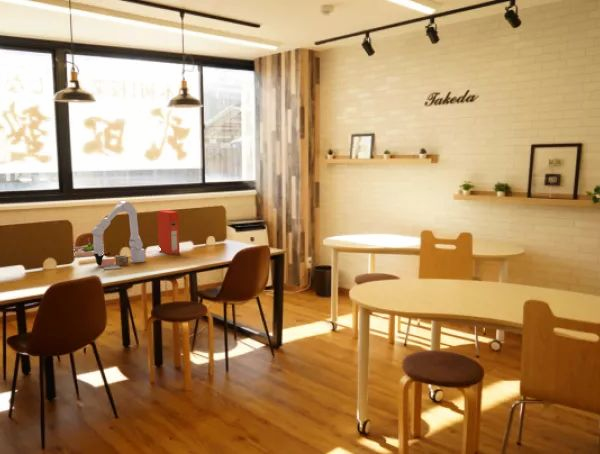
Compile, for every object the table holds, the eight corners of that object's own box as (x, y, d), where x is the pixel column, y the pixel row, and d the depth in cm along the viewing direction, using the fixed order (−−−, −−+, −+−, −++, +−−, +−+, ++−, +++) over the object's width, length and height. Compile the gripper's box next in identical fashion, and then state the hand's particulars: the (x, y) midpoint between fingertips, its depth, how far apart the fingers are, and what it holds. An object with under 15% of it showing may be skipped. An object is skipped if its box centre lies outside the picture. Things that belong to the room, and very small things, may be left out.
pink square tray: (104, 248, 427) (104, 244, 427) (110, 254, 405) (109, 250, 405) (70, 251, 415) (70, 247, 415) (74, 257, 394) (74, 253, 393)
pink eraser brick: (113, 264, 370) (112, 257, 369) (114, 265, 367) (113, 258, 366) (97, 266, 365) (97, 258, 364) (98, 267, 362) (98, 259, 361)
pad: (118, 265, 366) (118, 265, 366) (121, 268, 358) (121, 267, 358) (102, 267, 362) (102, 266, 362) (105, 270, 353) (105, 269, 353)
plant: (101, 249, 424) (100, 235, 422) (106, 254, 407) (106, 239, 406) (74, 252, 413) (73, 237, 412) (78, 256, 397) (77, 241, 395)
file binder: (170, 254, 405) (169, 212, 400) (158, 251, 417) (157, 210, 413) (179, 253, 411) (178, 212, 406) (167, 250, 423) (166, 209, 418)
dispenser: (126, 263, 375) (126, 254, 374) (128, 264, 370) (128, 255, 369) (115, 264, 372) (115, 255, 371) (117, 265, 366) (117, 256, 366)
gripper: (90, 243, 366) (91, 262, 368) (93, 246, 353) (94, 267, 355) (101, 242, 369) (102, 262, 371) (104, 246, 357) (105, 266, 359)
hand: (99, 264), depth 364 cm, fingers closed on pink eraser brick, 3 cm apart
